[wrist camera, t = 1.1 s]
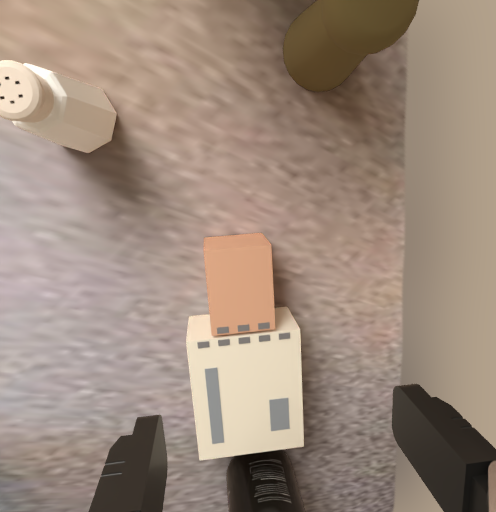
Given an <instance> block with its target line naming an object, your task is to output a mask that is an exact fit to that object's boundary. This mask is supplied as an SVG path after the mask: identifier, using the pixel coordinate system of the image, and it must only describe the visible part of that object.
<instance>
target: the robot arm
mask: <svg viewBox="0 0 496 512" xmlns="http://www.w3.org/2000/svg"><path fill="white" fill-rule="evenodd" d="M392 429H393V434H394V437H395V440H396V442H397V444H398V445H399V447H400V448H401V450H402V451H403V453H404V454H405V456H406V457H407V458H408V460H409V461H410V463H411V464H412V466H413V467H414V469H415V470H416V472H417V473H418V475H419V476H420V477H421V479H422V480H423V482H424V483H425V485H426V486H427V488H428V489H429V490H430V492H431V493H432V495H433V496H434V498H435V499H436V501H437V502H438V504H439V505H440V507H441V508H442V509H443V511H444V512H496V449H495V448H494V447H493V446H492V445H491V444H490V443H489V442H488V441H487V440H486V439H485V438H484V437H483V436H482V435H481V434H480V433H479V432H478V431H477V430H476V429H475V428H472V426H471V424H470V423H469V422H467V420H465V419H463V417H462V416H461V415H460V414H459V413H458V412H457V411H456V410H455V409H454V408H453V407H452V406H451V405H449V404H448V403H446V402H444V401H442V400H440V399H439V398H437V397H432V398H431V397H430V396H429V395H428V393H427V392H426V391H425V390H424V389H423V388H422V387H421V386H420V385H418V384H411V385H402V386H396V387H395V388H394V390H393V409H392ZM101 475H102V476H101V477H100V480H99V483H98V486H97V489H96V492H95V495H94V498H93V501H92V504H91V507H90V509H89V512H162V510H163V502H164V494H165V486H166V479H167V452H166V444H165V437H164V430H163V423H162V417H161V415H153V416H145V417H138V418H137V420H136V423H135V427H134V431H133V434H132V435H127V436H121V437H120V438H119V439H118V440H117V441H116V443H115V444H114V445H113V446H112V447H111V449H110V451H109V454H108V457H107V460H106V463H105V466H104V468H103V471H102V474H101Z"/></svg>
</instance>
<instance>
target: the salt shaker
mask: <svg viewBox="0 0 496 512" xmlns="http://www.w3.org/2000/svg"><path fill="white" fill-rule="evenodd" d="M0 116H1V117H2V118H4V119H8V120H11V121H12V122H13V123H14V125H15V126H17V127H18V128H20V129H23V130H25V131H27V132H30V133H32V134H35V135H37V136H40V137H42V138H44V139H47V140H49V141H52V142H54V143H57V144H59V145H62V146H65V147H68V148H72V149H75V150H79V151H82V152H85V153H90V152H92V151H94V150H95V149H97V148H99V147H101V146H102V145H104V144H106V143H108V142H110V141H111V140H112V135H113V130H114V126H115V121H116V116H117V113H116V111H115V110H114V108H113V106H112V105H111V103H110V101H109V100H108V98H107V96H106V95H105V93H104V91H103V89H102V88H100V87H97V86H94V85H91V84H88V83H85V82H82V81H79V80H77V79H74V78H71V77H68V76H65V75H62V74H59V73H55V72H52V71H49V70H46V69H43V68H40V67H37V66H34V65H31V64H27V63H25V64H21V63H19V62H16V61H11V60H3V61H0Z"/></svg>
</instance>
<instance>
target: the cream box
mask: <svg viewBox="0 0 496 512" xmlns="http://www.w3.org/2000/svg"><path fill="white" fill-rule="evenodd" d="M274 309H275V329H273V330H264V331H254V332H245V333H235V334H226V335H217V336H212V334H211V323H210V314H208V315H198V316H189V321H188V330H187V338H186V345H187V354H188V363H189V371H190V380H191V389H192V398H193V407H194V415H195V424H196V433H197V442H198V451H199V459H200V460H207V459H215V458H222V457H230V456H237V455H244V454H252V453H259V452H267V451H274V450H281V449H289V448H296V447H304V431H303V400H302V368H301V337H300V328H299V326H298V325H297V323H296V321H295V319H294V318H293V316H292V314H291V312H290V311H289V309H288V307H277V308H274Z"/></svg>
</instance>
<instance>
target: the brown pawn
mask: <svg viewBox="0 0 496 512" xmlns="http://www.w3.org/2000/svg"><path fill="white" fill-rule="evenodd" d="M418 2H419V0H317V1H316V2H314V3H313V4H312V5H311V6H310V7H309V8H307V9H306V10H305V11H304V12H303V13H302V14H300V15H299V16H298V17H297V18H296V19H295V21H294V22H293V23H292V24H291V25H290V27H289V29H288V31H287V33H286V35H285V40H284V45H283V55H284V63H285V65H286V68H287V70H288V72H289V74H290V76H291V77H292V78H293V79H294V80H295V82H296V83H297V84H299V85H300V86H302V87H304V88H305V89H307V90H312V91H316V92H321V91H328V90H331V89H333V88H335V87H337V86H339V85H340V84H341V83H342V82H343V81H344V80H345V79H346V78H347V77H348V76H349V75H350V74H351V73H352V72H353V70H354V69H355V68H356V67H357V66H358V65H359V64H360V62H361V61H362V60H363V59H364V58H365V57H366V55H367V54H374V53H377V52H379V51H381V50H383V49H385V48H387V47H389V46H391V45H393V44H394V43H395V42H396V41H397V40H398V39H399V38H400V37H401V36H402V35H403V34H404V33H405V32H406V30H407V29H408V27H409V25H410V23H411V22H412V20H413V18H414V16H415V14H416V10H417V6H418Z"/></svg>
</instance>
